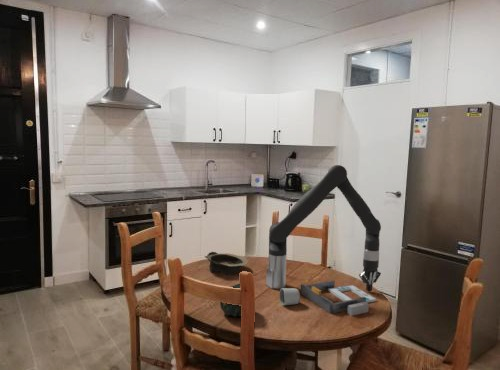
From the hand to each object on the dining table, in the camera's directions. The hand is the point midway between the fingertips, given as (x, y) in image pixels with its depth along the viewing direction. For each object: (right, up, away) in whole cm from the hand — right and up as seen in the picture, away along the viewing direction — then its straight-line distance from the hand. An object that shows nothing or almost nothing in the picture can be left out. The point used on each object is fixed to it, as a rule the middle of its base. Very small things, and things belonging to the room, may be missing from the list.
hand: (368, 290), depth 196 cm
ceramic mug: (-43, -2, -15) cm, 46 cm away
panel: (-12, -3, -24) cm, 27 cm away
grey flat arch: (-10, -2, -5) cm, 12 cm away
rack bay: (-21, -1, -10) cm, 24 cm away
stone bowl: (-74, +4, +28) cm, 79 cm away
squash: (-66, -3, -28) cm, 72 cm away
